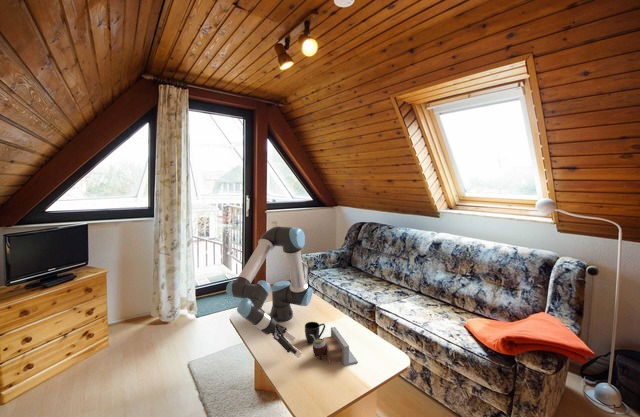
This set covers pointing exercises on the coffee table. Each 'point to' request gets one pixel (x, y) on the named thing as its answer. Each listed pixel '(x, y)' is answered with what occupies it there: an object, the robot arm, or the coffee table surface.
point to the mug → (313, 331)
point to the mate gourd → (319, 347)
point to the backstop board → (343, 348)
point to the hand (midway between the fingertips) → (296, 347)
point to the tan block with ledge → (333, 350)
